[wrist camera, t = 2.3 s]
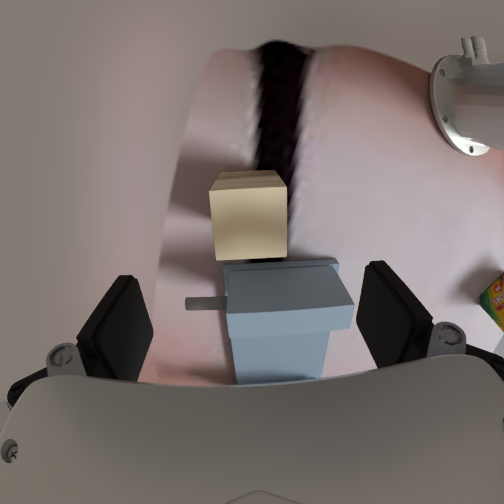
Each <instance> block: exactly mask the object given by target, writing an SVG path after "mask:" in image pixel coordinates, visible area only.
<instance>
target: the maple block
mask: <svg viewBox="0 0 504 504" xmlns="http://www.w3.org/2000/svg"><path fill="white" fill-rule="evenodd" d="M209 198H210V208H211V218H212V228H213V237H214V246H215V255H216V261H217V260H237V259H256V258H275V257H287V187H286V185H285V184H284V183H283V181H282V180H281V178H280V177H279V176H278V174H277V173H276V172H275V170H261V171H241V172H225V173H220V174H219V176H218V177H217V179H216V180H215V182H214V184H213V185H212V187H211V188H210V190H209Z"/></svg>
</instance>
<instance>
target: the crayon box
mask: <svg viewBox="0 0 504 504" xmlns="http://www.w3.org/2000/svg"><path fill="white" fill-rule="evenodd" d="M480 306H481V307H482V308H483V309H484V310H485V311H486V312H487V313H488V315H489V316H490V317H491V318H492V319H493V320H494V321H495V322H496V324H497V325H498V326H499V327H500V328H501V329H502V331H503V332H504V274H503V275H502V276H501V277H500V278H499V279H498V280H497V281H496V282H495V283H494V284H493V285H492V286H490V287H489V288H488V289H487V290H486V291H485V292H484V293H483V294H482V295H480Z"/></svg>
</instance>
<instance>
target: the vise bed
mask: <svg viewBox="0 0 504 504" xmlns="http://www.w3.org/2000/svg"><path fill="white" fill-rule="evenodd" d="M320 266H333V267H334V269H335V270H336V272H337V274H338V270H339V263H338V261H337V260H336V259H322V260H305V261H287V262H269V263H249V264H229V265H223V270H222V271H223V280H224V289H225V296H228V288H229V278H230V271H250V270H269V269H287V268H304V267H320ZM329 333H330V331H324V332H314V333H303V334H292V335H278V336H263V337H241V338H231V344H232V351H233V358H234V365H235V372H236V379H237V384H230V385H250V384H268V383H281V382H292V381H302V380H311V379H319V378H321V375H322V370H323V365H324V360H325V355H326V350H327V344H328V339H329Z"/></svg>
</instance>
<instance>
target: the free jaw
mask: <svg viewBox="0 0 504 504" xmlns="http://www.w3.org/2000/svg"><path fill="white" fill-rule="evenodd" d="M354 305H355V304H354V302H353V301H352V299H351V297H350V295H349V293H348V292H347V290H346V288H345V286H344V284H343V283H342V281H341V279H340V277H339V276H338V274H337V272H336V270H335V269H334V267H333V266H320V267H304V268H287V269H269V270H250V271H230V278H229V288H228V296H221V297H187V298H186V299H185V307H186V310H225V309H226V317H227V325H228V332H229V338H241V337H263V336H278V335H292V334H303V333H314V332H324V331H332V330H341V329H349V328H350V325H351V320H352V316H353V311H354Z"/></svg>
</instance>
